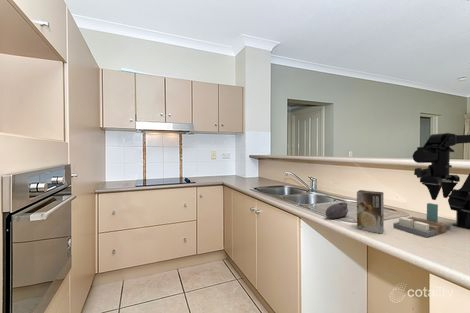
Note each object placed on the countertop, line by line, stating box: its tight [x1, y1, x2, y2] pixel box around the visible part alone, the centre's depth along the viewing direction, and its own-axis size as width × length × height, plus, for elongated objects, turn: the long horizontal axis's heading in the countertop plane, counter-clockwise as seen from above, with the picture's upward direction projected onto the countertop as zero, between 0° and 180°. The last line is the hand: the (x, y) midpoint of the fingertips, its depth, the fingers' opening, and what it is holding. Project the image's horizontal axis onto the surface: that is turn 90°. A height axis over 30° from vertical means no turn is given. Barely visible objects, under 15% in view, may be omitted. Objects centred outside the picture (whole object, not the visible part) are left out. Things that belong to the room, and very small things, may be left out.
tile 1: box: [398, 216, 413, 228], centre depth 92 cm, size 4×4×2 cm
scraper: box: [419, 202, 451, 232], centre depth 96 cm, size 3×11×10 cm, turn 24°
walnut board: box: [407, 216, 448, 236], centre depth 93 cm, size 8×12×3 cm, turn 24°
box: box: [392, 221, 436, 239], centre depth 90 cm, size 6×12×2 cm, turn 24°
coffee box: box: [356, 189, 385, 234], centre depth 92 cm, size 9×6×16 cm
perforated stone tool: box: [325, 202, 349, 219], centre depth 109 cm, size 15×5×7 cm, turn 115°
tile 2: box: [414, 221, 429, 232], centre depth 87 cm, size 4×4×2 cm
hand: (439, 198), depth 94 cm, fingers open, 9 cm apart
